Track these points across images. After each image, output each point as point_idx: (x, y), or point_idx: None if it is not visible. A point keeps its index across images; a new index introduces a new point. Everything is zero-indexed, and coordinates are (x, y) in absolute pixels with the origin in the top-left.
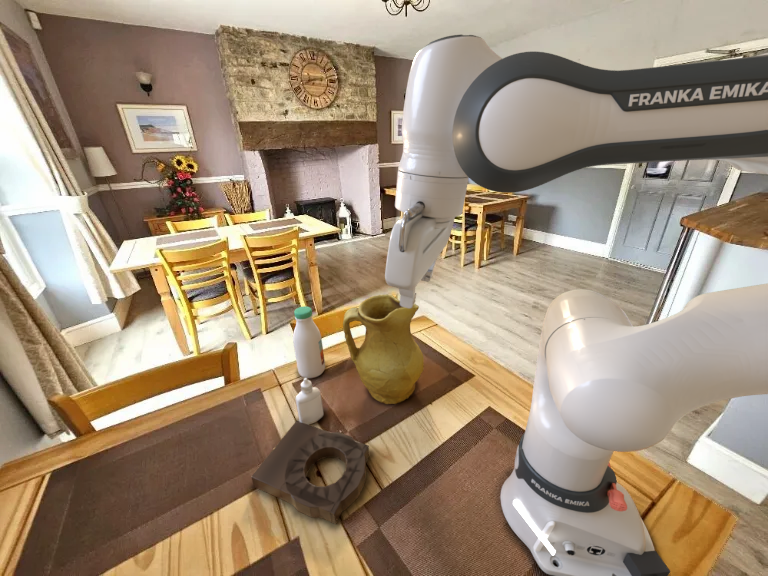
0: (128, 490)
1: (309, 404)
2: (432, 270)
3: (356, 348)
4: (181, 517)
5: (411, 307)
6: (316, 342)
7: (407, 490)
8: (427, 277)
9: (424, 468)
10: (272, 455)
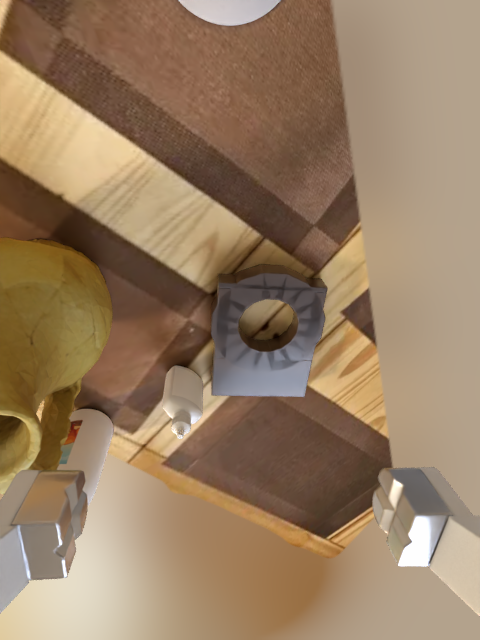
0: (328, 478)
1: (192, 397)
2: (12, 522)
3: (52, 399)
4: (342, 423)
5: (436, 469)
6: (70, 466)
7: (256, 199)
8: (72, 498)
9: (212, 180)
10: (272, 392)
